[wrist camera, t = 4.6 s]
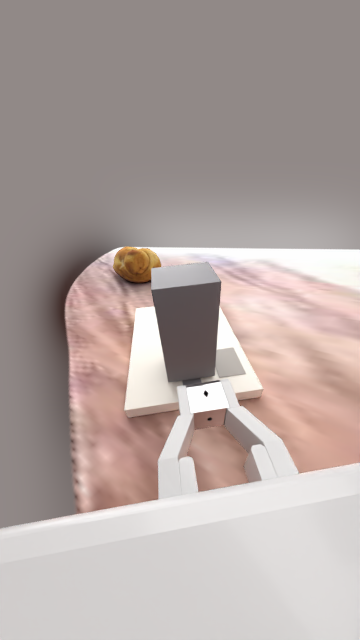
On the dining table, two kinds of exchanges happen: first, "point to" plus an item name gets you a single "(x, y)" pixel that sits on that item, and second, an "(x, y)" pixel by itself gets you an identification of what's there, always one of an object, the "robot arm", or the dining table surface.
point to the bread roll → (135, 264)
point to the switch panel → (160, 396)
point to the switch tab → (187, 318)
